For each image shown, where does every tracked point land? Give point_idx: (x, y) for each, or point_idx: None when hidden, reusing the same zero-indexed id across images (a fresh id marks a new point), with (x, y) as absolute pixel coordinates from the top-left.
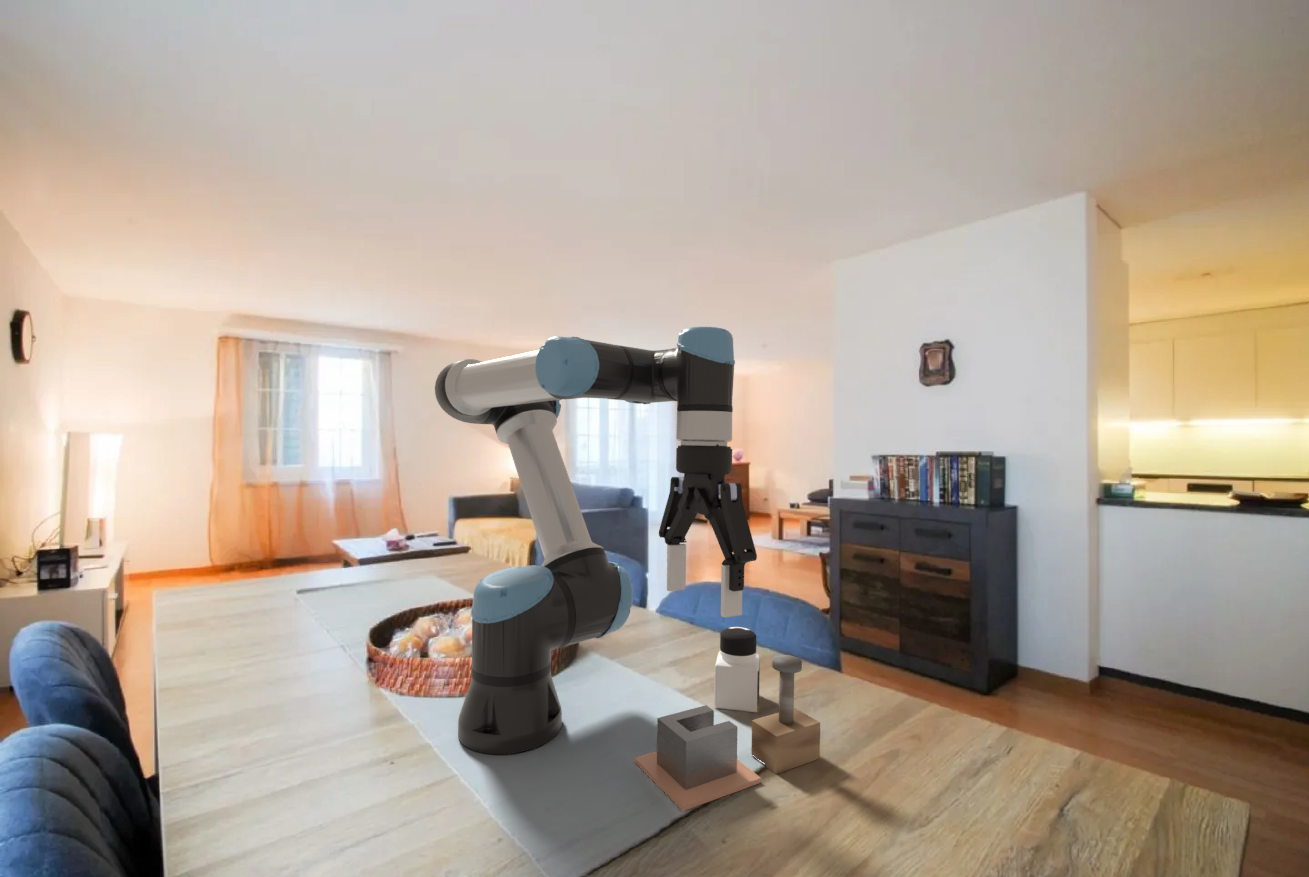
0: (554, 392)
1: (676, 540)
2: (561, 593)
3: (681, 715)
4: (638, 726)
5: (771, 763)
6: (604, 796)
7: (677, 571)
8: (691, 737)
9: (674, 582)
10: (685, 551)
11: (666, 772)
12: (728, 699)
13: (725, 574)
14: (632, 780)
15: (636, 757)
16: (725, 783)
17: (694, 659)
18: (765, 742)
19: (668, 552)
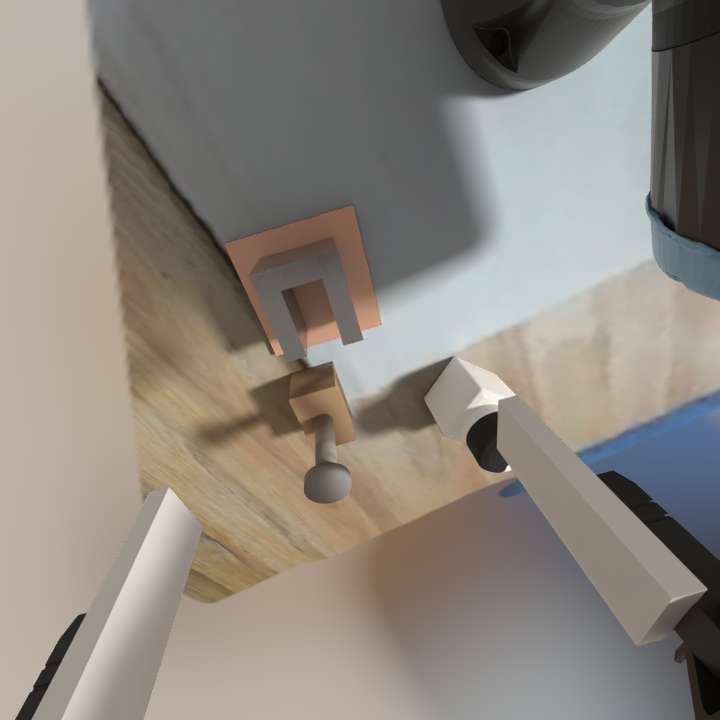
0: None
1: (711, 652)
2: None
3: (337, 292)
4: (447, 237)
5: (298, 376)
6: (270, 128)
7: (542, 481)
8: (261, 287)
9: (514, 437)
10: (605, 597)
11: (306, 244)
12: (448, 377)
13: (47, 695)
14: (305, 188)
15: (352, 208)
16: None
17: (593, 370)
18: (308, 384)
19: (644, 542)
